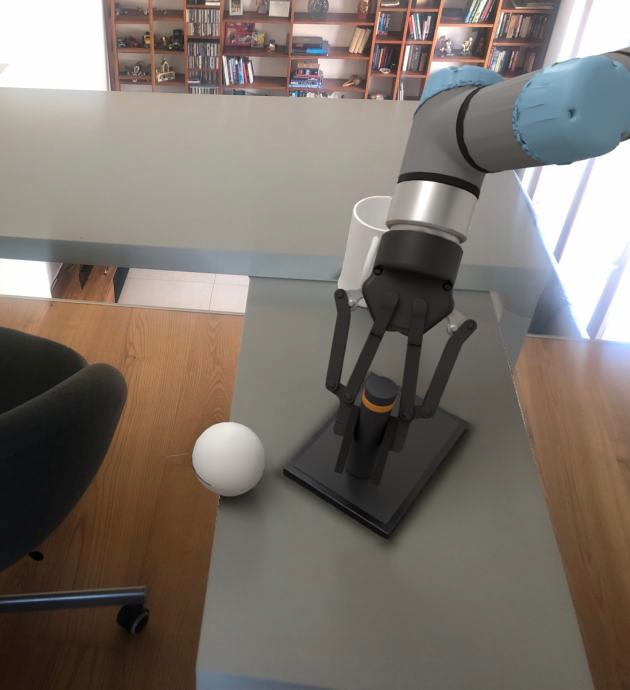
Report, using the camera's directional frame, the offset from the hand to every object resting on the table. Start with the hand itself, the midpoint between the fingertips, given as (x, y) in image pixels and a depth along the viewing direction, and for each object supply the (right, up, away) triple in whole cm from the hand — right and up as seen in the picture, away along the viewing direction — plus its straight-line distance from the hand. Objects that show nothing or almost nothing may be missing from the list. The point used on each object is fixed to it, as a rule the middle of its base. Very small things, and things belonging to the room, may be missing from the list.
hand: (357, 476), depth 66 cm
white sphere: (-13, -1, +6) cm, 15 cm away
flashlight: (+2, 0, +5) cm, 5 cm away
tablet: (+4, +1, +8) cm, 9 cm away
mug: (+8, +19, +27) cm, 34 cm away
